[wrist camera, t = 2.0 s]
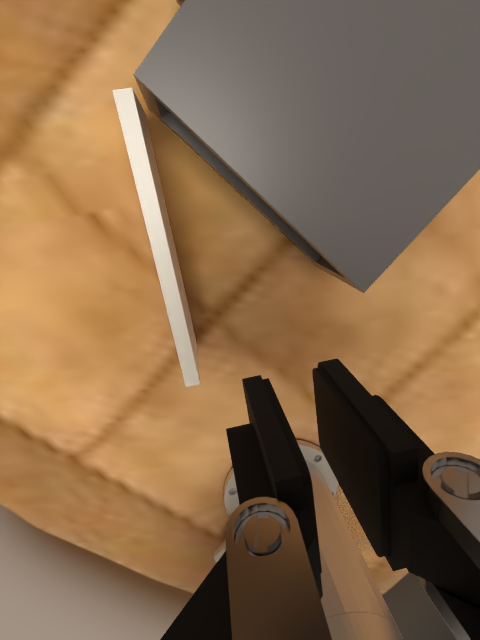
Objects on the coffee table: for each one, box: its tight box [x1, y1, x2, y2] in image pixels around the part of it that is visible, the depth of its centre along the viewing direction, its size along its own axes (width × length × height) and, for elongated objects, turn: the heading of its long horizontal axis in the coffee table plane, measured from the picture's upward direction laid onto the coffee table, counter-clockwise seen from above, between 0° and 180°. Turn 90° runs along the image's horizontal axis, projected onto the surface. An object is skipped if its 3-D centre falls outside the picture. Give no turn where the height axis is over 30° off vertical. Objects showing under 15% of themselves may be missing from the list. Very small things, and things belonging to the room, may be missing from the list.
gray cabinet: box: [134, 0, 480, 293], centre depth 23 cm, size 16×20×8 cm
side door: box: [113, 88, 200, 387], centre depth 25 cm, size 1×18×7 cm, turn 9°
